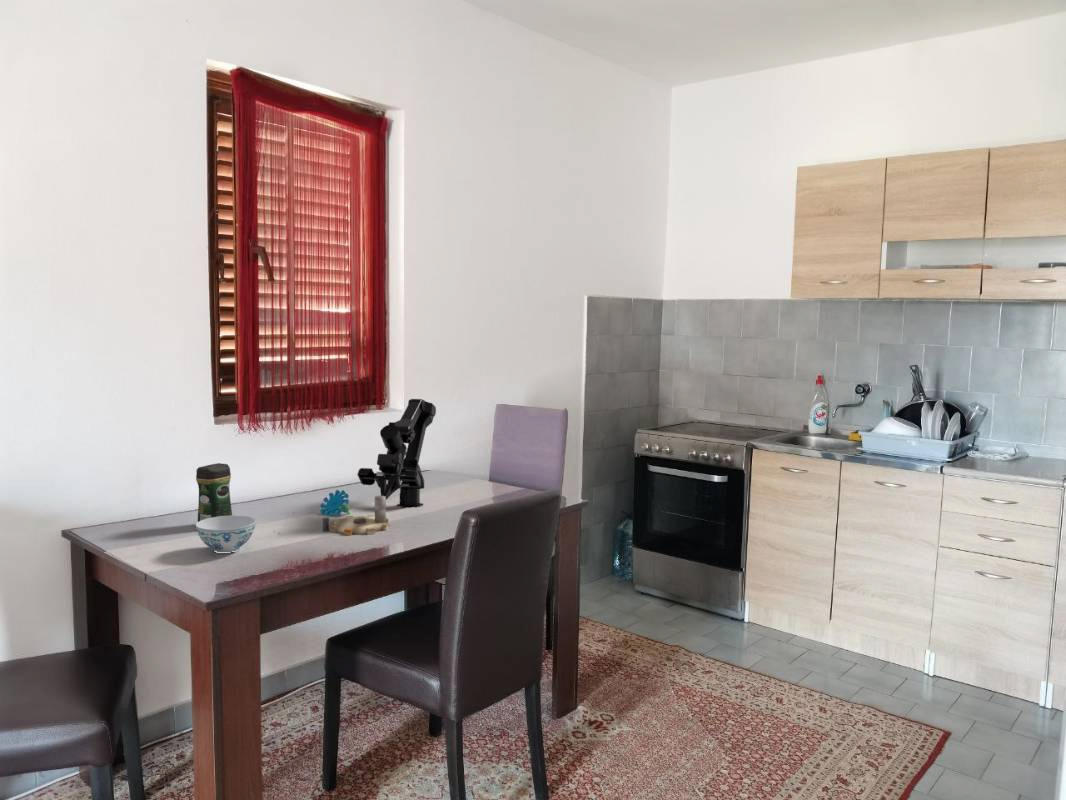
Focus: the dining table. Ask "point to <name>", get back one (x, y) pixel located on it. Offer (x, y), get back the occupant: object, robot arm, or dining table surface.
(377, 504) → the turntable
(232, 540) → the chinaware
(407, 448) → the robot arm
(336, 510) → the gear
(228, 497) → the coffee jar
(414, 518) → the dining table surface
